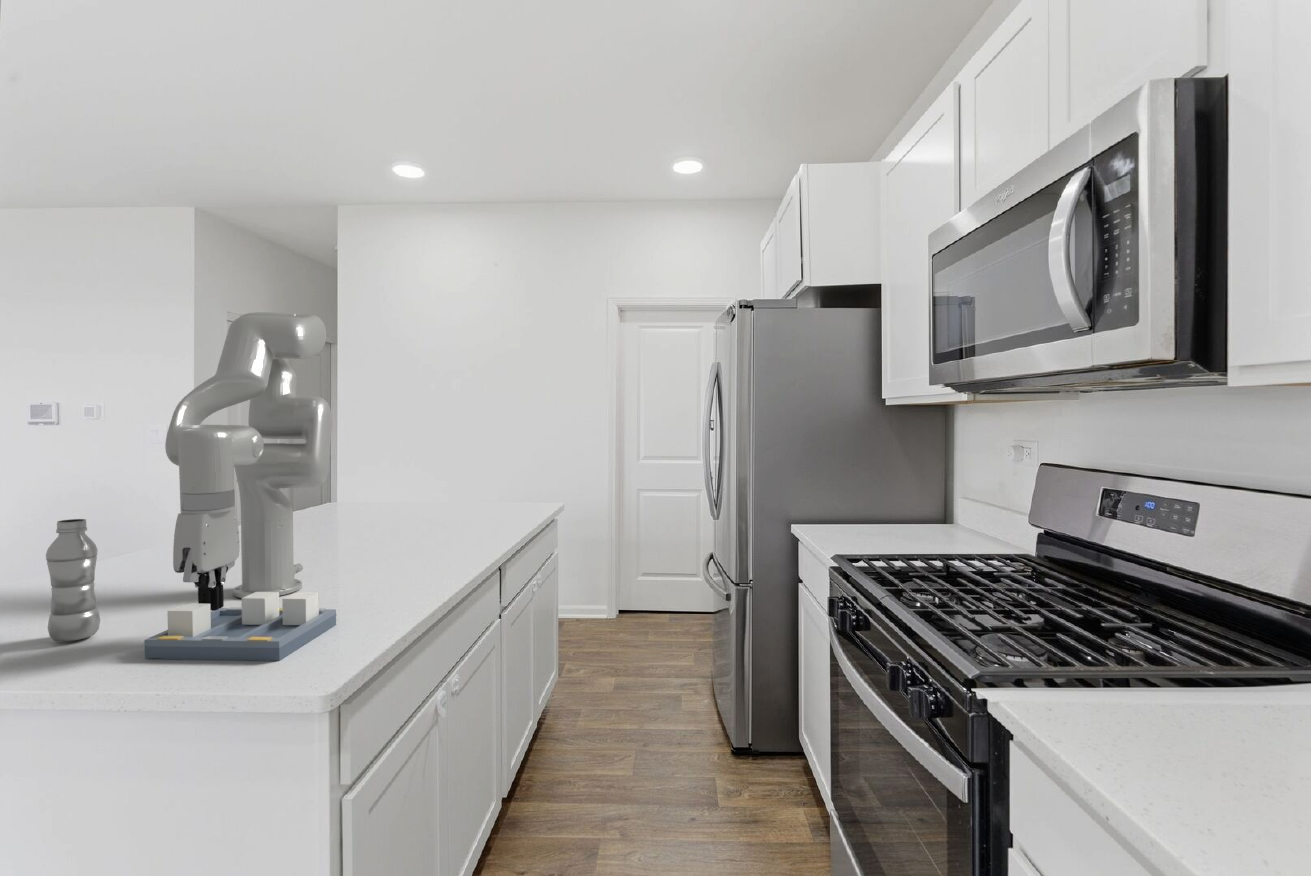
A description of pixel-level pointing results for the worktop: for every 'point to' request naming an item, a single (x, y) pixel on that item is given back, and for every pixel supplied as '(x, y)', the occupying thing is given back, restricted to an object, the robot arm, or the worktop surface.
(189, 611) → the tab
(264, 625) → the switch bank
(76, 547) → the plastic bottle
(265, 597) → the tab
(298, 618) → the tab
